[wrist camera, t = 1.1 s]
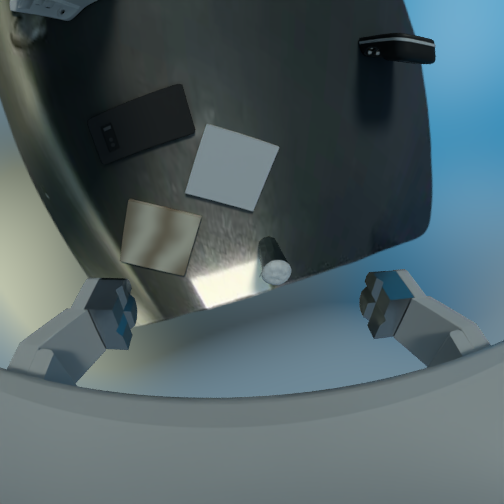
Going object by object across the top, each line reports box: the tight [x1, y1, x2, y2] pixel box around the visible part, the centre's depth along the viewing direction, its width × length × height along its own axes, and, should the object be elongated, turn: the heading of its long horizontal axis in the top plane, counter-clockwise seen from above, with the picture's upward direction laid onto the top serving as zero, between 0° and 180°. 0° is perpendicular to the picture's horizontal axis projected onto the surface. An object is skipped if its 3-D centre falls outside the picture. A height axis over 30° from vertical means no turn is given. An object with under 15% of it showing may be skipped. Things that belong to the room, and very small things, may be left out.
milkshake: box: [259, 236, 291, 285], centre depth 46 cm, size 5×5×10 cm
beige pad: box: [120, 199, 201, 276], centre depth 47 cm, size 12×12×1 cm
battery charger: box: [359, 33, 435, 64], centre depth 28 cm, size 7×4×11 cm, turn 98°
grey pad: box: [185, 124, 279, 211], centre depth 42 cm, size 11×11×1 cm
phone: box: [87, 84, 195, 165], centre depth 36 cm, size 8×1×15 cm
